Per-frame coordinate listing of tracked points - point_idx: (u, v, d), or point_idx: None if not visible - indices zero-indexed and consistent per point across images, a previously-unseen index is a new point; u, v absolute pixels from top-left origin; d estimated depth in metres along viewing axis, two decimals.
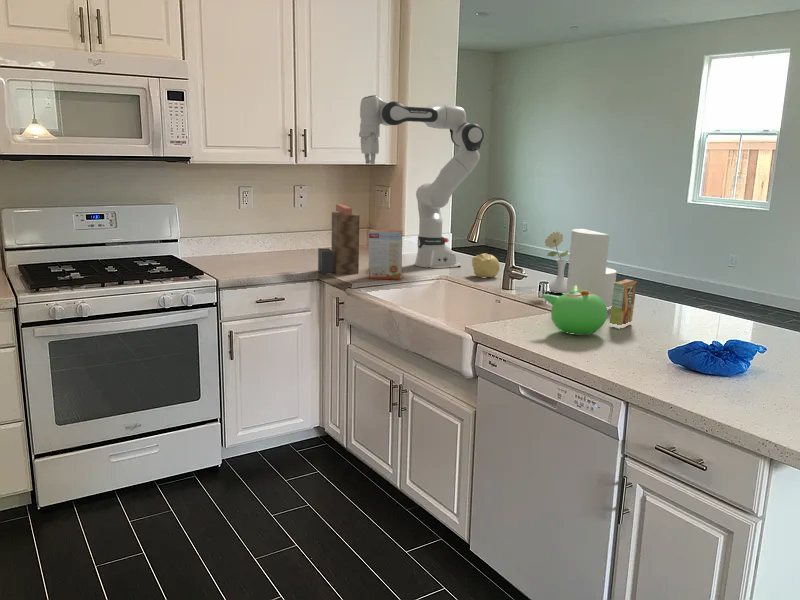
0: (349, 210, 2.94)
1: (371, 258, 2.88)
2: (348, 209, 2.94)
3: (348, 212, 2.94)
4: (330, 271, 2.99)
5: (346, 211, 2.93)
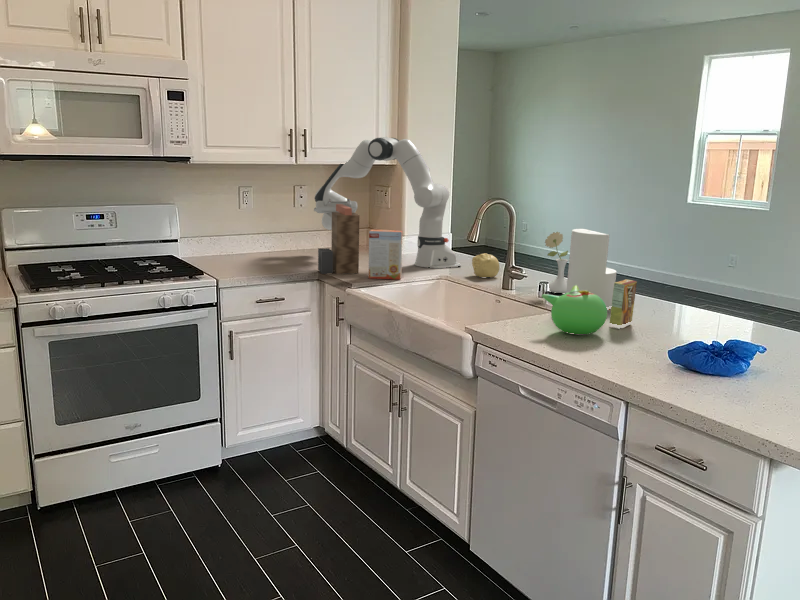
0: (349, 210, 2.94)
1: (371, 258, 2.88)
2: (348, 209, 2.94)
3: (348, 212, 2.94)
4: (330, 271, 2.99)
5: (346, 211, 2.93)
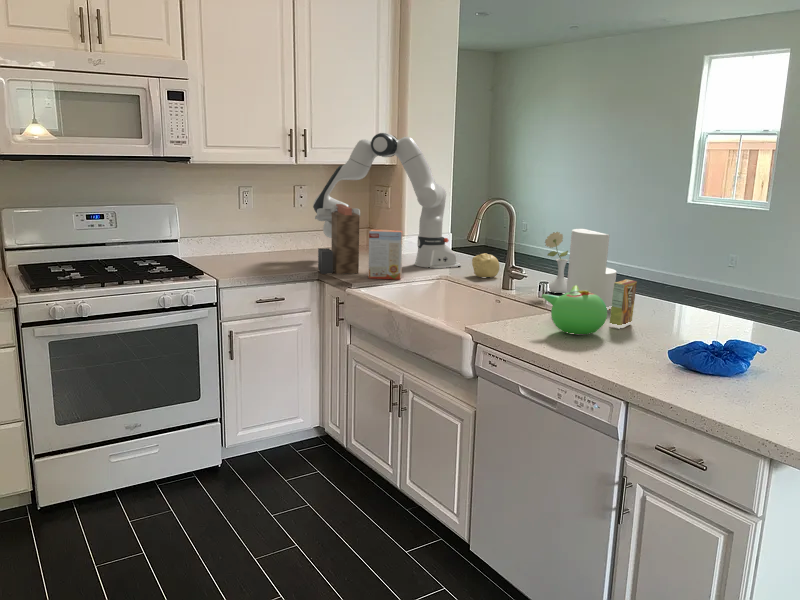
0: (349, 210, 2.94)
1: (371, 258, 2.88)
2: (348, 209, 2.94)
3: (348, 212, 2.94)
4: (330, 271, 2.99)
5: (346, 211, 2.93)
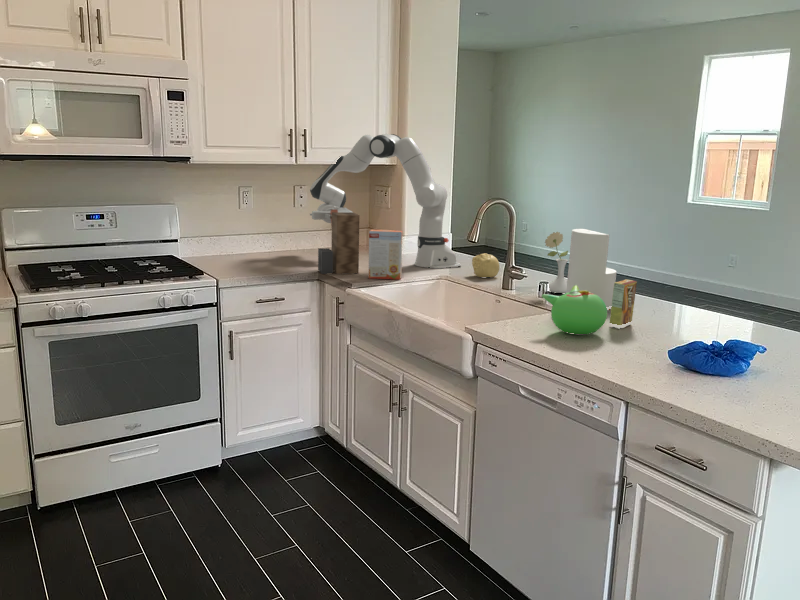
0: None
1: (371, 258, 2.88)
2: None
3: None
4: (330, 271, 2.99)
5: None
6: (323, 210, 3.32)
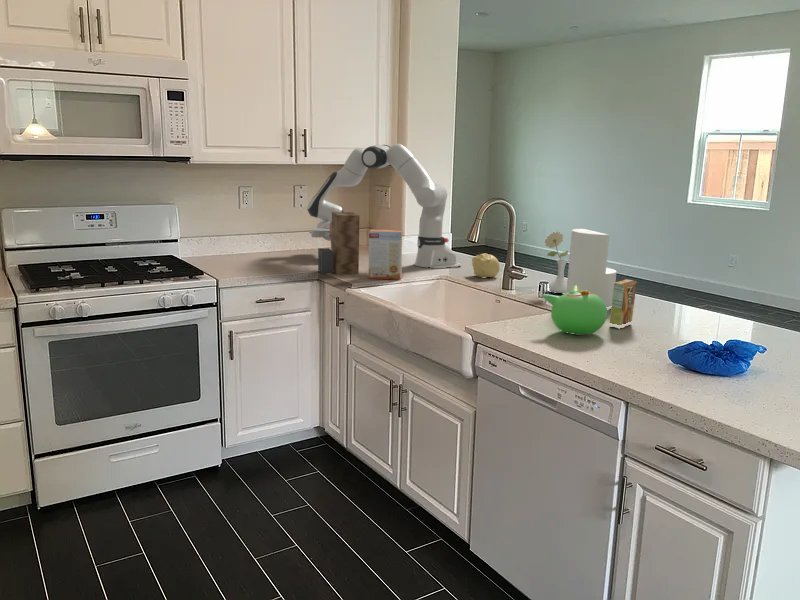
0: None
1: (371, 258, 2.88)
2: None
3: None
4: (330, 271, 2.99)
5: None
6: (322, 228, 3.34)
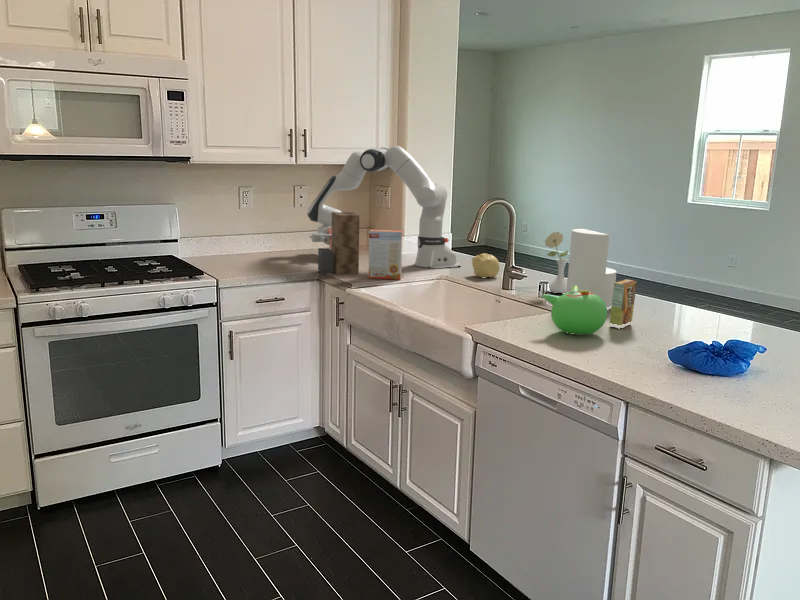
0: None
1: (371, 258, 2.88)
2: None
3: None
4: (330, 271, 2.99)
5: None
6: (323, 232, 3.34)
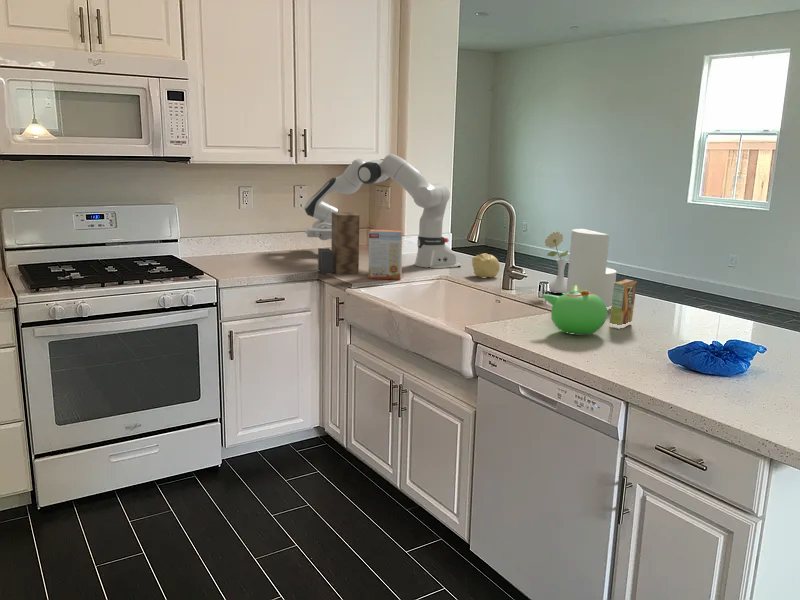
0: None
1: (371, 258, 2.88)
2: None
3: None
4: (330, 271, 2.99)
5: None
6: (318, 228, 3.46)
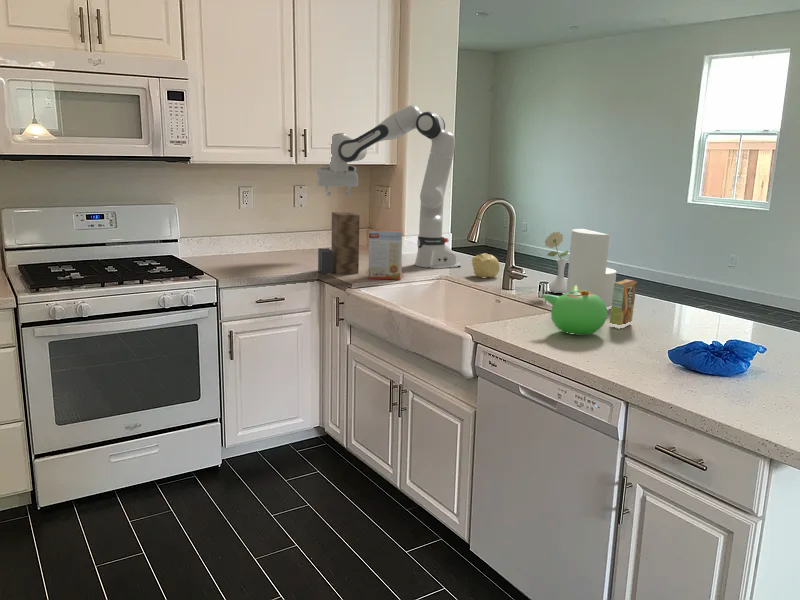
0: None
1: (371, 258, 2.88)
2: None
3: None
4: (330, 271, 2.99)
5: None
6: (331, 170, 3.29)
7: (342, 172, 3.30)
